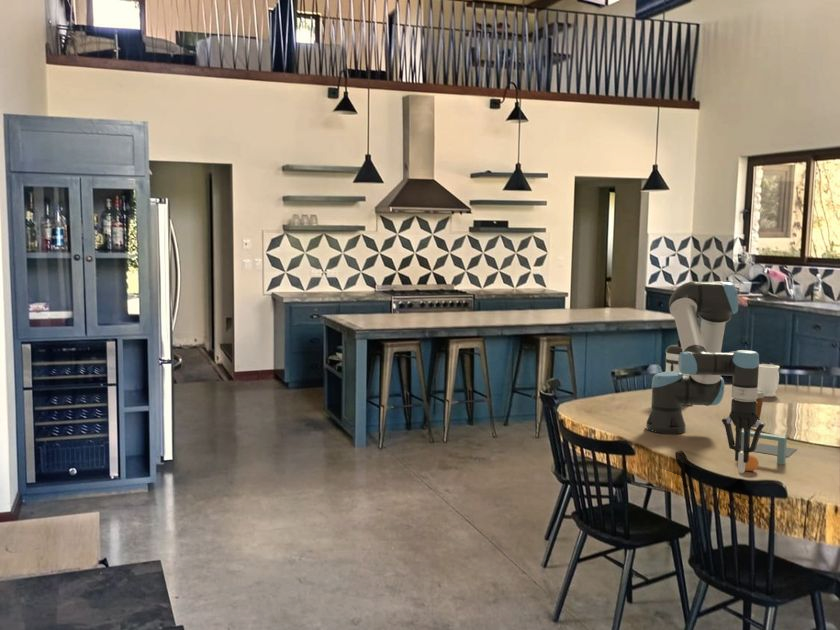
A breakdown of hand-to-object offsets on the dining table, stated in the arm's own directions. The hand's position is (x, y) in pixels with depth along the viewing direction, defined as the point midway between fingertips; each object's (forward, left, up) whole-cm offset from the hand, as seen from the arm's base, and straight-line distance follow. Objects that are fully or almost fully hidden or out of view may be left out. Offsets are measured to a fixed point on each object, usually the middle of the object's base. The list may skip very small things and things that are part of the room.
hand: (741, 471), depth 245 cm
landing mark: (0, +41, -2) cm, 41 cm away
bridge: (0, +25, -2) cm, 25 cm away
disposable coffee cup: (-20, +89, -2) cm, 92 cm away
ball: (0, +9, +1) cm, 9 cm away
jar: (-28, +147, -2) cm, 150 cm away
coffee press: (-57, +102, -2) cm, 117 cm away
